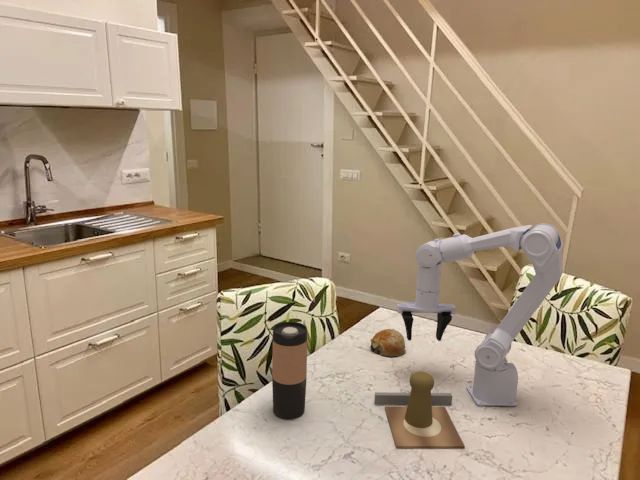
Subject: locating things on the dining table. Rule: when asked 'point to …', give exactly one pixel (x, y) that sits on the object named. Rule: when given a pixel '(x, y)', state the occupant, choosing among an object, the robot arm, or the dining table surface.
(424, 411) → the cork
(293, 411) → the travel mug
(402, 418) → the walnut board
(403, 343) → the bread roll
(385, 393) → the low wall
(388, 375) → the dining table surface
